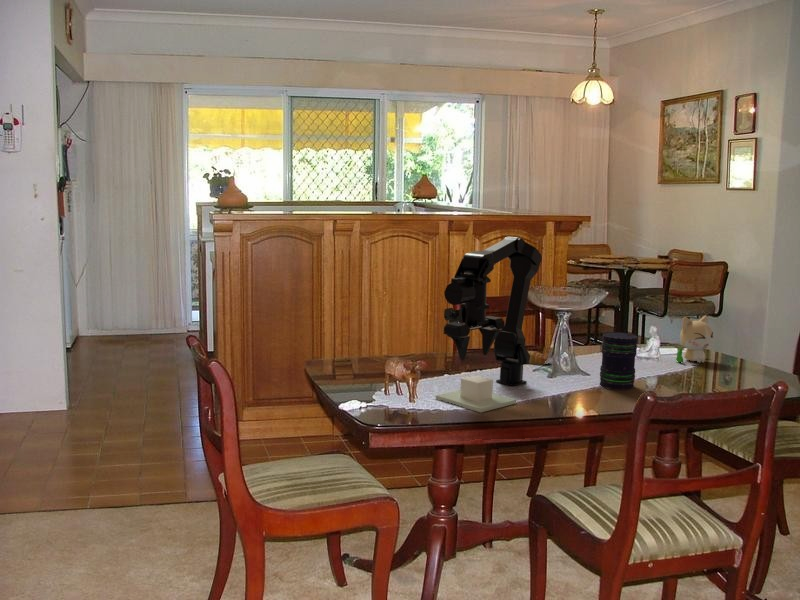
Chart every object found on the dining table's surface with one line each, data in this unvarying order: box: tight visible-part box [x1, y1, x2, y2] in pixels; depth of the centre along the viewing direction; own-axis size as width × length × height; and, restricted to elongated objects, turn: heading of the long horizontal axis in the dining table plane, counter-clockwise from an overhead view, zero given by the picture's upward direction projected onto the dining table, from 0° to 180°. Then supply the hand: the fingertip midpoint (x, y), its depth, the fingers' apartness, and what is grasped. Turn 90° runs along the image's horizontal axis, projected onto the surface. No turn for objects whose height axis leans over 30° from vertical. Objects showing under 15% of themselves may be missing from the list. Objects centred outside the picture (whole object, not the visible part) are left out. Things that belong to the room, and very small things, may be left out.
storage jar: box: [599, 331, 638, 391], centre depth 242 cm, size 10×10×15 cm
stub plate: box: [435, 389, 517, 413], centre depth 223 cm, size 14×16×4 cm
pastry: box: [527, 349, 549, 366], centre depth 271 cm, size 9×7×4 cm
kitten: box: [675, 314, 714, 364], centre depth 278 cm, size 15×10×15 cm
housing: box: [459, 375, 494, 402], centre depth 222 cm, size 6×6×5 cm
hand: (473, 357), depth 227 cm, fingers open, 9 cm apart
